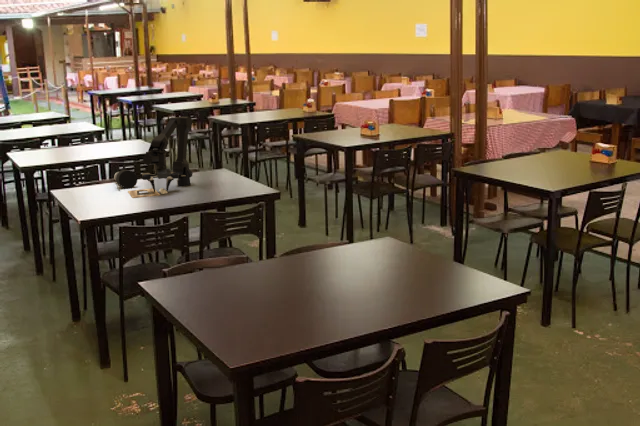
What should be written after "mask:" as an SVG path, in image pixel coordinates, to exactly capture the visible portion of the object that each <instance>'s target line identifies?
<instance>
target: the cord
mask: <svg viewBox="0 0 640 426" xmlns="http://www.w3.org/2000/svg"><path fill="white" fill-rule="evenodd" d="M158 193H159V194H160V195H161V194H162V195H163V194H168V191H166V188H164V187H161V188H159V192H158Z"/></svg>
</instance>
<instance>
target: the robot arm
mask: <svg viewBox="0 0 640 426" xmlns="http://www.w3.org/2000/svg"><path fill="white" fill-rule="evenodd" d="M192 125H193V120H192V118H191V116H177V117H176V116H175V117H173V116H172V117H170V118H169V119H168V122H167V123H166V125H165V127H164V128H163V129H162V131H161V132H160V134H158V135H157V136H155V137H154V138H153V139H152V140H151V143H150V145H149V148H148V150H147V151H145V155H144V156H143V158H142V160H143V163H144V165H147V166H150V165H154V174H153V173H152V174H151V173H150V172H142V173H141V179H142V180H143V181H148V182H149V183H150V185H151V188H153V190H154V192H155V190H156V186H155V180H154V179H155V178H157V179H159V180H161V179H165V180H166V184H165V190H166V191H167V192H168V191H169V187H170V184H171V182H172V181H174V180H176V186H177V187H188V186H189V187H190V186H191V177H193V171H192V170H191V169H190V167H189V165H190V164H189V162H188V160H187V153H188V141H189V140H188V139H189V138H188V137H189V132H190V131H191V129H192ZM175 130H177V132H178V138H177V139H178V141H177V154H176V160H174V161H172V170H171V168H166V154H168V151H167V150H166V149H167V148H168V145H169V139H170V137H171V136H172V135H173V133H174V132H175Z"/></svg>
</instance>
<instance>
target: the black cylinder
mask: <svg viewBox="0 0 640 426" xmlns="http://www.w3.org/2000/svg"><path fill="white" fill-rule="evenodd" d="M113 179H114V180H115V182H116V183H117V185H118V186H120V187H121V188H124V189H127V190H128V189H132V188H133V189H134V187H135V186H137V184H138V175H137V174H136V172H134V171H132V170H129V169H122V170H119V171H117V172H115V174H114V177H113Z"/></svg>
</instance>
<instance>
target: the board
mask: <svg viewBox="0 0 640 426" xmlns="http://www.w3.org/2000/svg"><path fill="white" fill-rule="evenodd" d="M127 193H128V194H129V195H130V197H131V198H132V199H139V198H140V199H141V198H149V197H157V196H161V193H160V192H158V191H157V189H155V192H154V190H153V188H152V187H151V188H143V189H133V190H127Z"/></svg>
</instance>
